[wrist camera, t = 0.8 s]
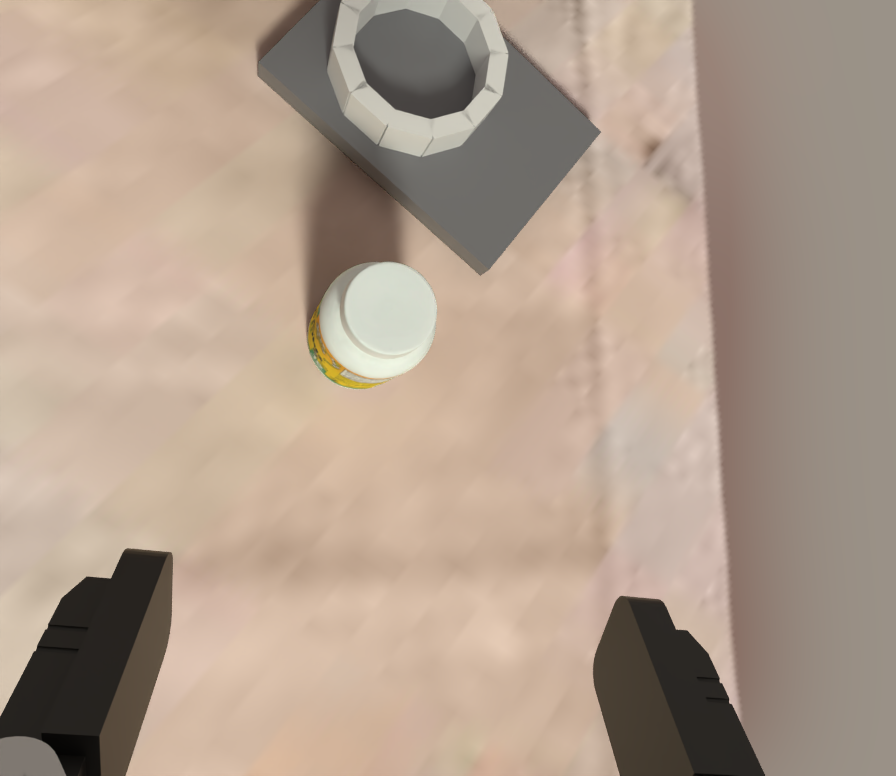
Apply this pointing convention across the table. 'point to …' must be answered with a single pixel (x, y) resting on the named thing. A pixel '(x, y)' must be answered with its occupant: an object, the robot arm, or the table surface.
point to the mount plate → (433, 113)
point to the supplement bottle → (372, 324)
